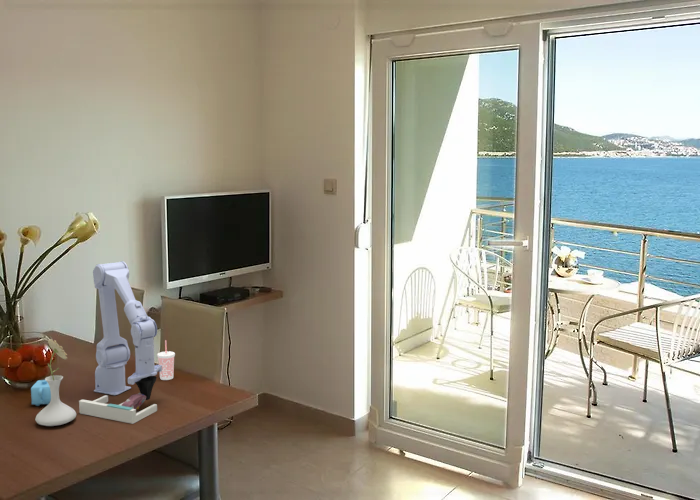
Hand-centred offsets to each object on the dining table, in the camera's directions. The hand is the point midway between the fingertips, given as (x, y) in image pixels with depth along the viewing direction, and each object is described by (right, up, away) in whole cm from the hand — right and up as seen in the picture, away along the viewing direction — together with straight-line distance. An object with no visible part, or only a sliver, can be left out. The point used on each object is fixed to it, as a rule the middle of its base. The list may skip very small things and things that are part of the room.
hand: (146, 399), depth 221 cm
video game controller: (-3, -3, -5) cm, 7 cm away
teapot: (-33, -2, +3) cm, 33 cm away
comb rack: (-7, -3, -4) cm, 9 cm away
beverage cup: (-1, +1, +28) cm, 28 cm away
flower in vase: (-23, -4, -12) cm, 27 cm away
